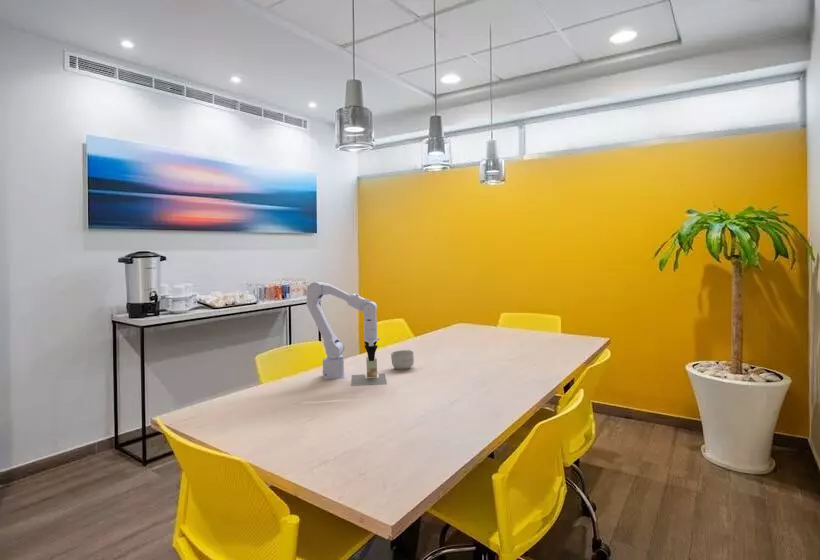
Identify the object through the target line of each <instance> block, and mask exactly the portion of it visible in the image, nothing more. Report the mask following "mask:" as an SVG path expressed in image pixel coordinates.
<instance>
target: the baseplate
mask: <svg viewBox="0 0 820 560" xmlns="http://www.w3.org/2000/svg"><path fill="white" fill-rule="evenodd" d="M350 379H351V380H350V386H351V387H360V386H361V387H363V386H380V385H382V386H383V385H387V384H388V382H387V377H386V374H385V373H383V372H382V373H377V377H369V378H367V373H366V374H364V373H363V374H351V378H350Z"/></svg>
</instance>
